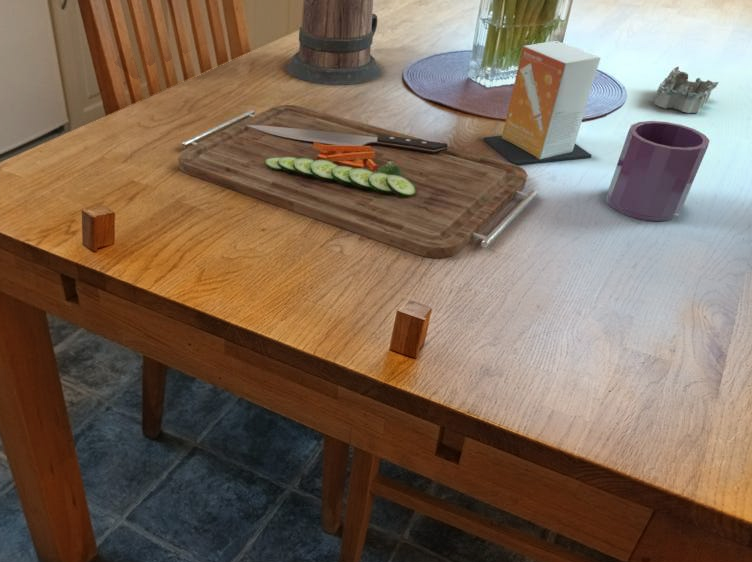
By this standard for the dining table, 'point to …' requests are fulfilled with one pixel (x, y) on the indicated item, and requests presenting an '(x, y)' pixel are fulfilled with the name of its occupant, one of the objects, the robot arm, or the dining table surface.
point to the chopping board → (360, 177)
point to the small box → (549, 98)
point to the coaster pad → (523, 157)
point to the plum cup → (656, 170)
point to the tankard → (336, 42)
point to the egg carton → (683, 92)
